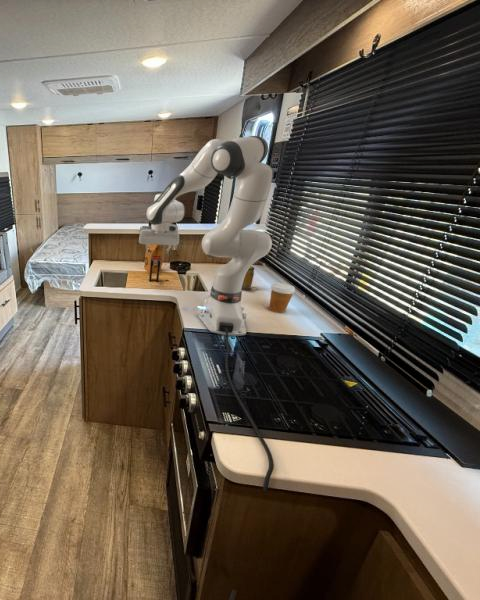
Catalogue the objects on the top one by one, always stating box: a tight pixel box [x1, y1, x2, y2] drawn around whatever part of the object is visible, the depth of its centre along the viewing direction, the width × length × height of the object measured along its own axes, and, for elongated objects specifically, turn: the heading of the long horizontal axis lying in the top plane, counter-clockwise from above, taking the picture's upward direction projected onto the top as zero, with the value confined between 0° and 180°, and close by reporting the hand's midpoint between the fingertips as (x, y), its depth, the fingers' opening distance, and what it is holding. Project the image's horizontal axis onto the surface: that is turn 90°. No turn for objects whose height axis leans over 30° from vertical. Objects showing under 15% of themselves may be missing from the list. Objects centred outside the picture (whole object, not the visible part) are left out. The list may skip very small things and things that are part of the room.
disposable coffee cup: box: [268, 282, 296, 314], centre depth 141 cm, size 10×10×12 cm
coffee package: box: [144, 244, 163, 274], centre depth 191 cm, size 10×12×22 cm
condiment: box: [241, 266, 257, 292], centre depth 167 cm, size 7×8×12 cm
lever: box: [152, 257, 163, 266], centre depth 168 cm, size 13×5×2 cm, turn 170°
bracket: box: [148, 259, 161, 283], centre depth 175 cm, size 11×9×14 cm
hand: (157, 252), depth 161 cm, fingers open, 8 cm apart
